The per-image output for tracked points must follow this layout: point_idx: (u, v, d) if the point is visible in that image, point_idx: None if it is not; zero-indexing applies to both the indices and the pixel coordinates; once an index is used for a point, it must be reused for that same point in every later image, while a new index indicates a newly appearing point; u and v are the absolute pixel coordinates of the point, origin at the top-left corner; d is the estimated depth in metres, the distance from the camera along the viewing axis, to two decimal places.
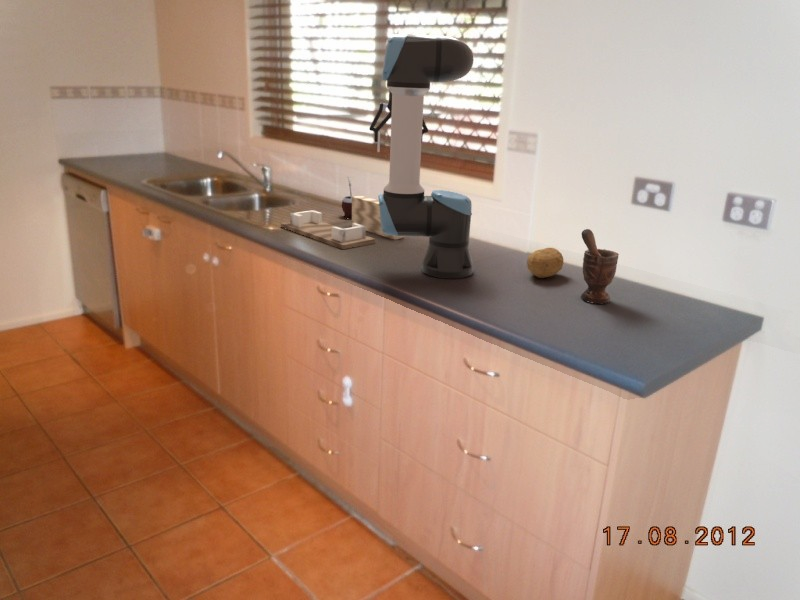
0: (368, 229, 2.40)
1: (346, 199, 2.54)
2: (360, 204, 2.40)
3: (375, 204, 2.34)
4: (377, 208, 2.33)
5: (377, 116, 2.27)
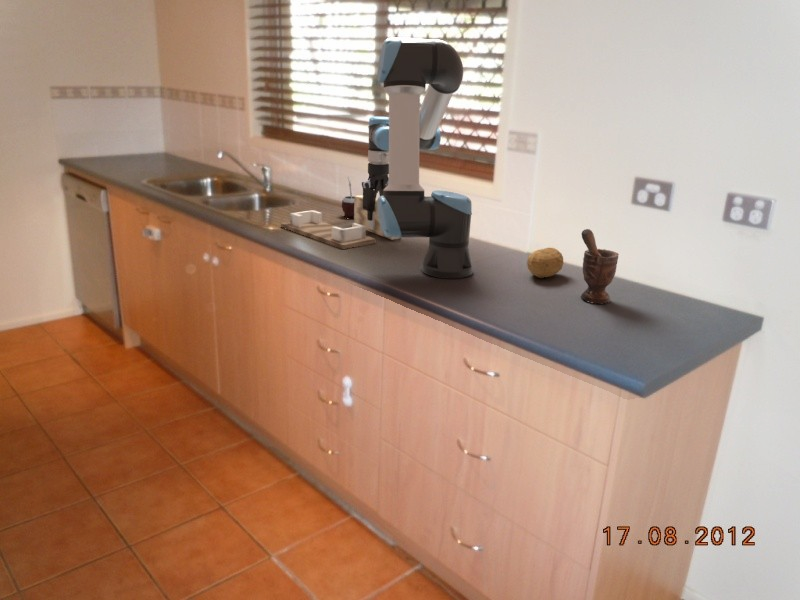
0: None
1: (346, 199, 2.54)
2: (362, 203, 2.40)
3: (375, 203, 2.34)
4: (376, 208, 2.34)
5: None
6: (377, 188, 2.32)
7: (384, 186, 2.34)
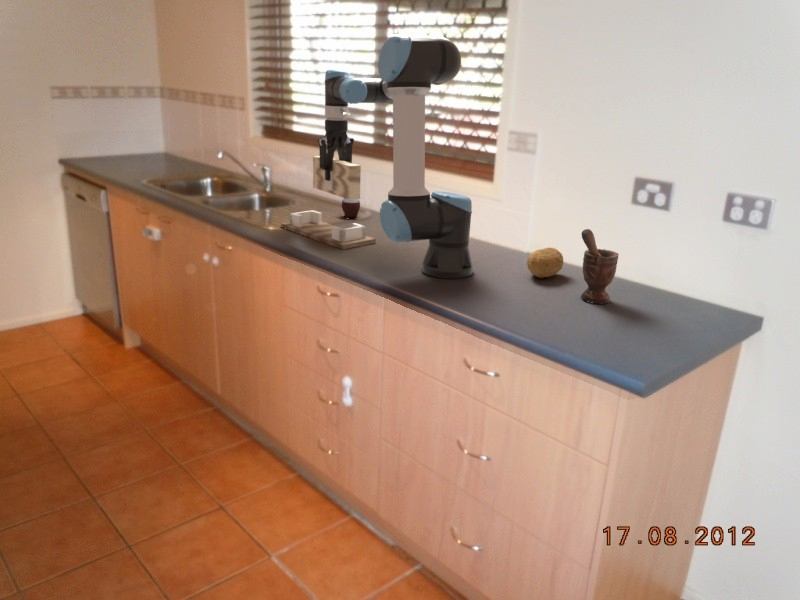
0: (327, 190, 2.29)
1: (346, 199, 2.54)
2: None
3: (332, 163, 2.23)
4: (334, 167, 2.22)
5: None
6: (334, 146, 2.21)
7: (342, 144, 2.23)
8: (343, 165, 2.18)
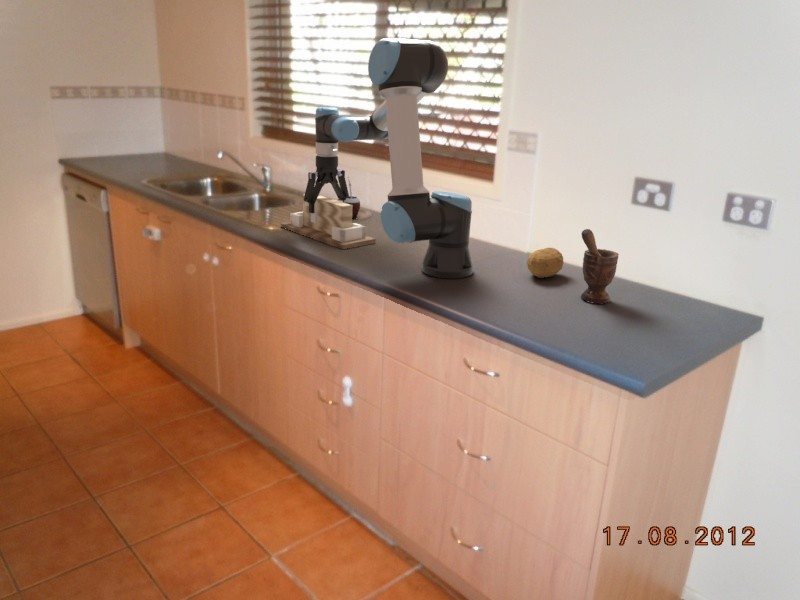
0: (318, 228, 2.31)
1: (346, 199, 2.54)
2: None
3: (324, 202, 2.26)
4: (325, 206, 2.25)
5: None
6: (324, 181, 2.23)
7: (334, 179, 2.25)
8: (335, 205, 2.21)
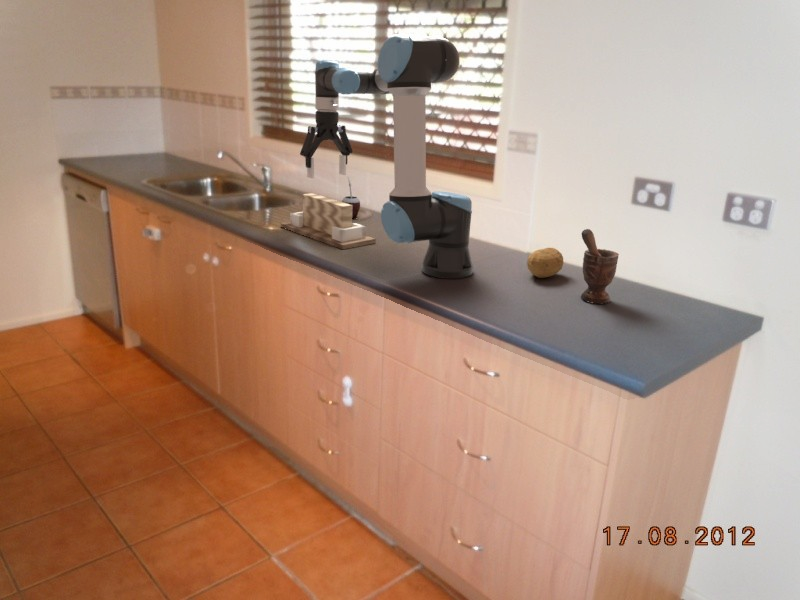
0: (318, 228, 2.31)
1: (346, 199, 2.54)
2: (311, 201, 2.32)
3: (324, 202, 2.26)
4: (325, 206, 2.25)
5: None
6: (323, 136, 2.18)
7: (335, 135, 2.21)
8: (335, 205, 2.21)
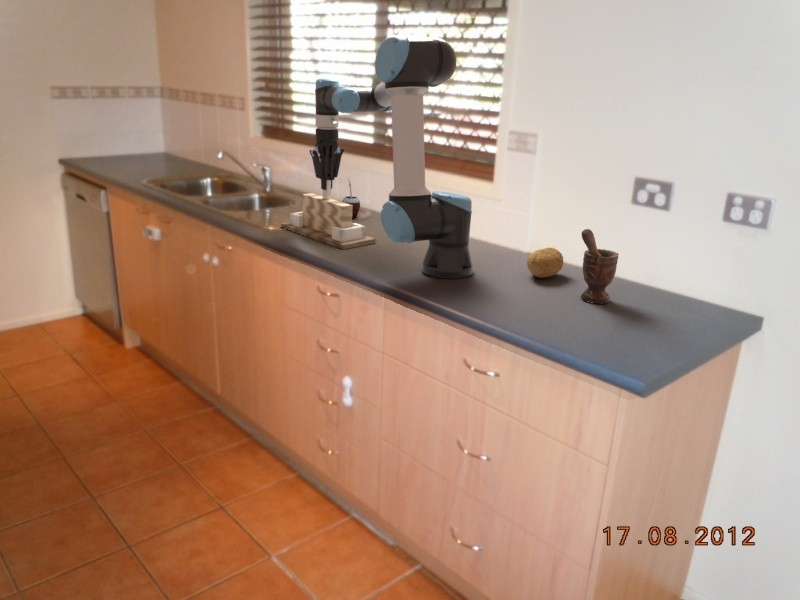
0: (318, 228, 2.31)
1: (346, 199, 2.54)
2: (311, 201, 2.32)
3: (324, 202, 2.26)
4: (325, 206, 2.25)
5: None
6: (326, 155, 2.20)
7: (332, 153, 2.22)
8: (335, 205, 2.21)
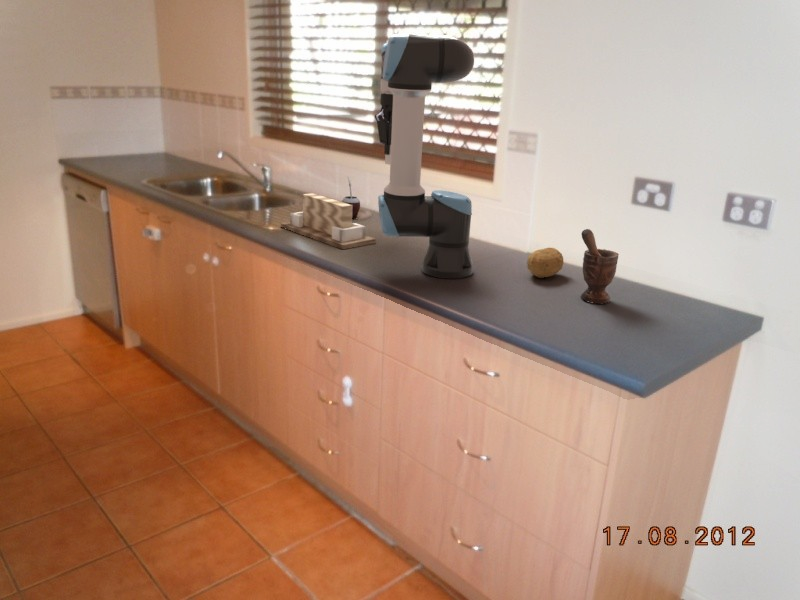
0: (318, 228, 2.31)
1: (346, 199, 2.54)
2: (311, 201, 2.32)
3: (324, 202, 2.26)
4: (325, 206, 2.25)
5: None
6: (391, 120, 2.24)
7: None
8: (335, 205, 2.21)
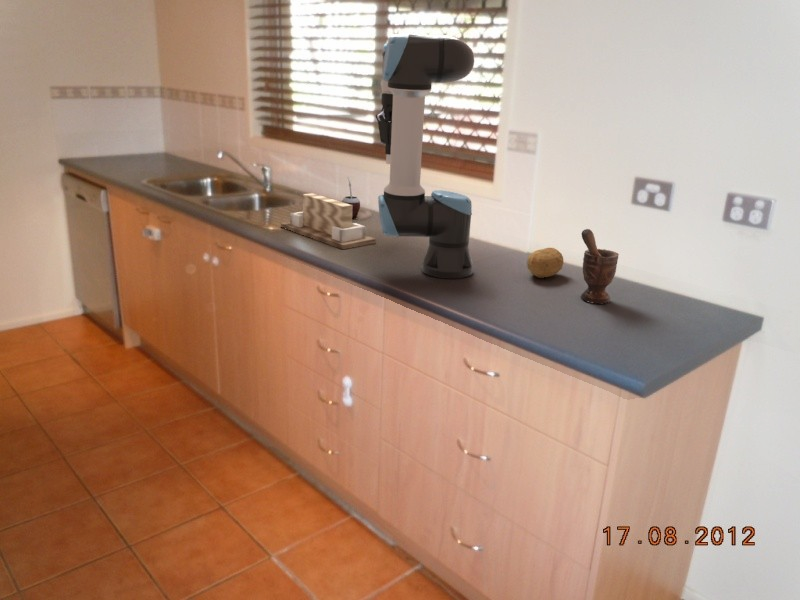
0: (318, 228, 2.31)
1: (346, 199, 2.54)
2: (311, 201, 2.32)
3: (324, 202, 2.26)
4: (325, 206, 2.25)
5: None
6: (392, 119, 2.24)
7: None
8: (335, 205, 2.21)
